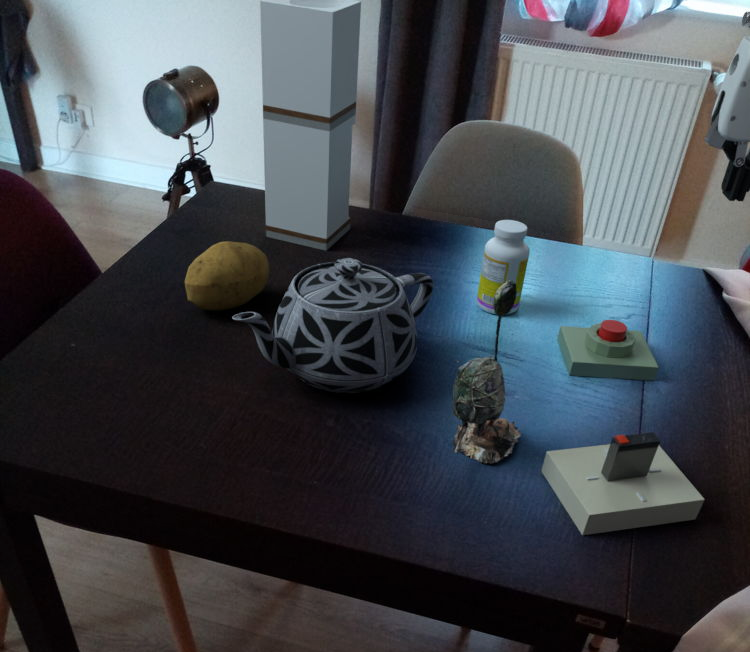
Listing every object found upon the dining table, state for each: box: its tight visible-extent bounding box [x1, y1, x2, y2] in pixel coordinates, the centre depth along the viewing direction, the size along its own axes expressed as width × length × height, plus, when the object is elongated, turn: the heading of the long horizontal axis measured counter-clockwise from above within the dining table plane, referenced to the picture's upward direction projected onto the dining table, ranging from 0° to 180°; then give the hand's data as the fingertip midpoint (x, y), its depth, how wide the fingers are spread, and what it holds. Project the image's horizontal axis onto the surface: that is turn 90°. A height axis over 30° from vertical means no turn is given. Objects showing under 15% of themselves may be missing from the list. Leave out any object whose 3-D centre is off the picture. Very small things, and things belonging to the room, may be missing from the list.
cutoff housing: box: [556, 322, 659, 382], centre depth 111 cm, size 12×10×4 cm
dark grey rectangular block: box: [601, 431, 661, 481], centre depth 86 cm, size 5×2×5 cm, turn 105°
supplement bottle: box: [476, 219, 530, 315], centre depth 118 cm, size 7×7×13 cm
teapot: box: [231, 257, 434, 394], centre depth 100 cm, size 19×31×15 cm, turn 127°
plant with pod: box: [451, 280, 522, 464], centre depth 88 cm, size 8×11×20 cm
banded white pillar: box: [259, 0, 362, 252], centre depth 127 cm, size 11×11×35 cm
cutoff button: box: [598, 319, 628, 343], centre depth 109 cm, size 4×4×2 cm
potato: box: [184, 240, 270, 312], centre depth 114 cm, size 10×13×9 cm
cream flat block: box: [541, 443, 705, 536], centre depth 88 cm, size 14×11×3 cm
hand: (732, 196), depth 97 cm, fingers closed
